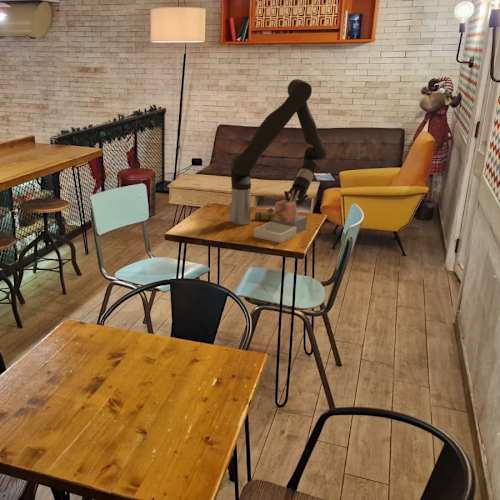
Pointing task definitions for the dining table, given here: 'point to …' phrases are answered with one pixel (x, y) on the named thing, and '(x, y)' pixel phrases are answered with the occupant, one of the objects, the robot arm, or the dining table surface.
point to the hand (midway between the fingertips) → (289, 210)
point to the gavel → (264, 215)
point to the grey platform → (295, 222)
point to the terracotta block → (285, 210)
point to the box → (275, 232)
